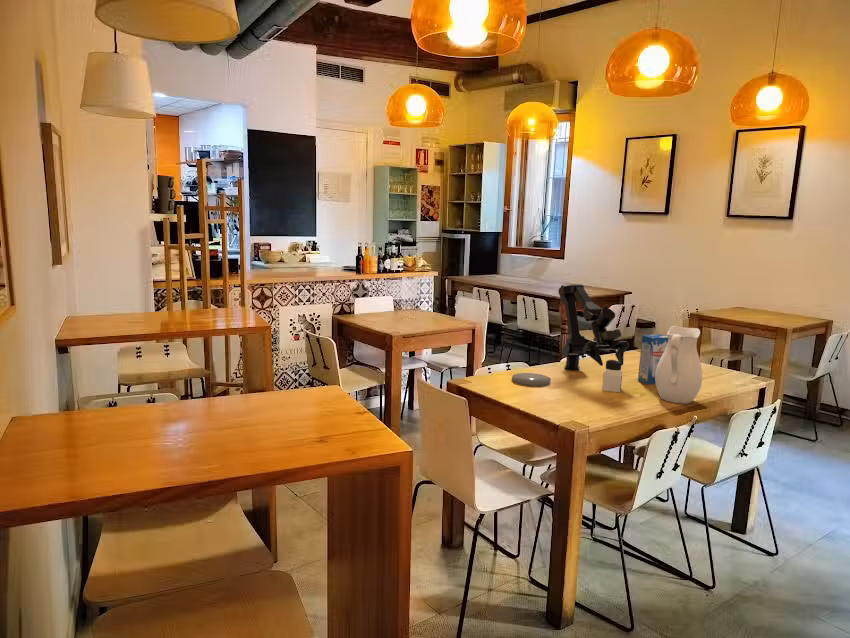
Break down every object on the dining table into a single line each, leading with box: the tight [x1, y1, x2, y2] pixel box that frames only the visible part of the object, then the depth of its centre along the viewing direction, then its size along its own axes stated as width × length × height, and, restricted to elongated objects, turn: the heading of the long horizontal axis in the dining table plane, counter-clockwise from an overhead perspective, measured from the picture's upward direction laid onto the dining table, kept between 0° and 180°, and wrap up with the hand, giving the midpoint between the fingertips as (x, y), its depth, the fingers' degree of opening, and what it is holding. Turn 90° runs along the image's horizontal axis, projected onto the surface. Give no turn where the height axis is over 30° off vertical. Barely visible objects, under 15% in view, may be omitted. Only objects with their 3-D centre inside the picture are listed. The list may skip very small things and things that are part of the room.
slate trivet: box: [511, 372, 551, 388], centre depth 264 cm, size 16×16×2 cm
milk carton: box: [637, 334, 668, 385], centre depth 269 cm, size 10×6×20 cm, turn 111°
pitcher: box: [655, 325, 703, 405], centre depth 240 cm, size 24×17×28 cm
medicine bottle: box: [601, 359, 623, 393], centre depth 255 cm, size 7×7×12 cm
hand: (612, 365), depth 255 cm, fingers open, 9 cm apart
